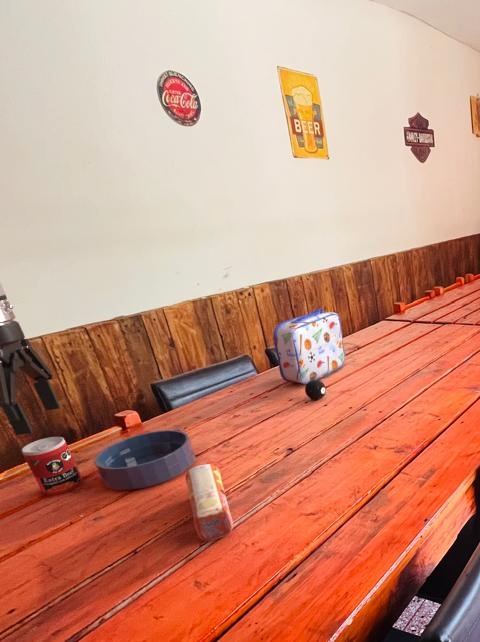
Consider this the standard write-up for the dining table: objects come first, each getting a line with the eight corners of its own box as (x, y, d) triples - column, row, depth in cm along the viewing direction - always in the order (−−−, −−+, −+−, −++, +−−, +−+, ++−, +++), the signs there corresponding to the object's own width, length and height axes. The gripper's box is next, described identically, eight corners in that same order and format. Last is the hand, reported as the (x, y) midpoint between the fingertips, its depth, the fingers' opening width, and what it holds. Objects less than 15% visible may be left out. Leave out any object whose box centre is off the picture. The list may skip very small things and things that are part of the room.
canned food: (46, 500, 112) (24, 456, 107) (39, 488, 117) (18, 445, 112) (87, 485, 117) (68, 442, 112) (79, 474, 122) (59, 433, 117)
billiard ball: (315, 394, 162) (311, 376, 159) (331, 396, 160) (327, 378, 157) (303, 401, 157) (299, 383, 154) (319, 403, 155) (315, 384, 152)
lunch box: (329, 361, 192) (318, 302, 182) (352, 363, 189) (342, 303, 179) (279, 387, 169) (263, 321, 160) (305, 390, 166) (290, 323, 156)
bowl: (83, 489, 116) (73, 466, 113) (149, 449, 133) (141, 428, 130) (155, 495, 112) (145, 471, 109) (213, 453, 129) (206, 431, 126)
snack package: (237, 534, 97) (227, 504, 94) (199, 547, 94) (188, 517, 91) (224, 485, 114) (215, 459, 111) (191, 495, 111) (181, 468, 108)
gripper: (-19, 336, 91) (33, 441, 101) (43, 308, 113) (81, 397, 122) (-70, 342, 89) (-12, 448, 99) (3, 313, 111) (45, 402, 120)
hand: (39, 420), depth 111 cm, fingers open, 13 cm apart
